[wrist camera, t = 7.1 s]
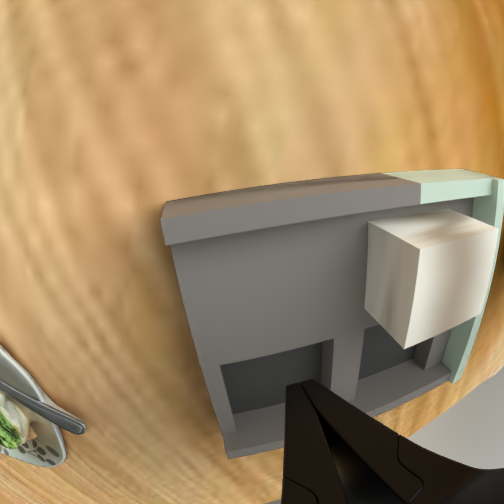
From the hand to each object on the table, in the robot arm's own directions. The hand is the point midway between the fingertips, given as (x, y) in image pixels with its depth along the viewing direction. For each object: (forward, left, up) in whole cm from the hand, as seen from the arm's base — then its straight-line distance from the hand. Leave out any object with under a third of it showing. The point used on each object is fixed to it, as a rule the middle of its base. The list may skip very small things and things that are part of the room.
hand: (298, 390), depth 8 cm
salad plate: (+24, +7, -9) cm, 27 cm away
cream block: (-9, 0, -6) cm, 11 cm away
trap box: (-6, +4, -8) cm, 11 cm away
